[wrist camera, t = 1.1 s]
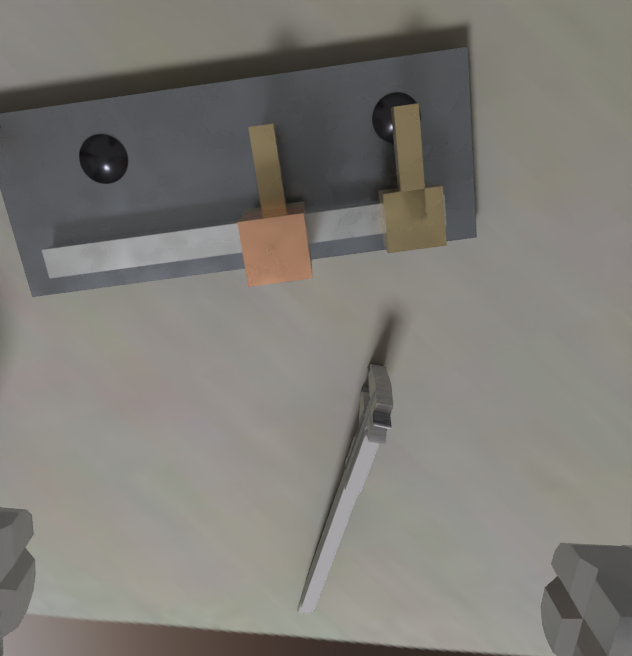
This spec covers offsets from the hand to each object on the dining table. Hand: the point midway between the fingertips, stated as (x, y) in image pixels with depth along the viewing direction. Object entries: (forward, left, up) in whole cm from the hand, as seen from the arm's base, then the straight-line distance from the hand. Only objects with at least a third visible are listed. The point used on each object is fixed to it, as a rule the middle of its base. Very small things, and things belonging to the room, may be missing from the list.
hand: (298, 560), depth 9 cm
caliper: (0, +18, -28) cm, 33 cm away
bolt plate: (+3, -5, -27) cm, 28 cm away
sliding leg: (+1, -3, -25) cm, 26 cm away
